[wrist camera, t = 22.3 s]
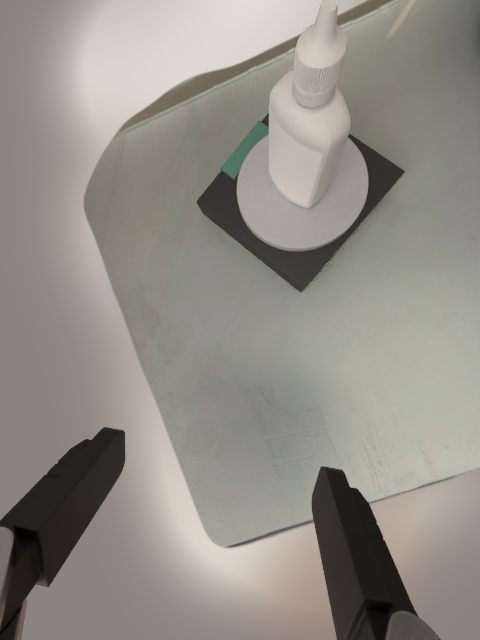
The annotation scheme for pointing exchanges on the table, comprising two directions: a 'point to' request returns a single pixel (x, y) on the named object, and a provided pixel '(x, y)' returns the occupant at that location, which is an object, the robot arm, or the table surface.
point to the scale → (294, 206)
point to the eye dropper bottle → (310, 113)
